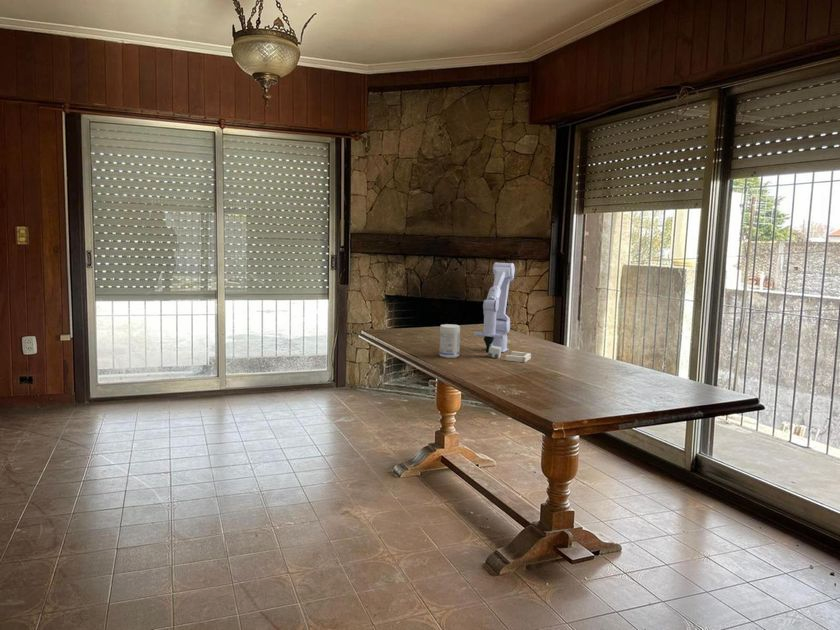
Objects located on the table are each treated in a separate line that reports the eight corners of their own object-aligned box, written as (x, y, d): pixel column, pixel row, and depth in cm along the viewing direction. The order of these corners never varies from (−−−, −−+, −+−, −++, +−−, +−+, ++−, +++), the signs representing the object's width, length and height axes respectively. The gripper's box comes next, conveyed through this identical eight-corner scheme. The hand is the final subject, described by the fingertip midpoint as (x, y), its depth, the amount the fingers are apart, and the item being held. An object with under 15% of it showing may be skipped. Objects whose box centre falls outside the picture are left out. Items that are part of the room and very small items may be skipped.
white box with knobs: (490, 354, 307) (492, 342, 307) (500, 355, 306) (502, 344, 305) (487, 356, 301) (489, 345, 300) (498, 358, 299) (499, 347, 298)
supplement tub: (450, 353, 308) (451, 323, 306) (463, 356, 300) (464, 326, 298) (434, 355, 302) (435, 324, 300) (448, 359, 294) (449, 327, 292)
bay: (511, 356, 306) (512, 351, 306) (530, 358, 302) (531, 353, 302) (505, 360, 296) (505, 355, 295) (524, 362, 292) (525, 357, 292)
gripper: (472, 323, 302) (471, 352, 303) (502, 326, 296) (500, 355, 297) (477, 322, 308) (475, 350, 310) (506, 325, 302) (504, 353, 304)
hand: (488, 352), depth 304 cm, fingers closed, pressing on white box with knobs
